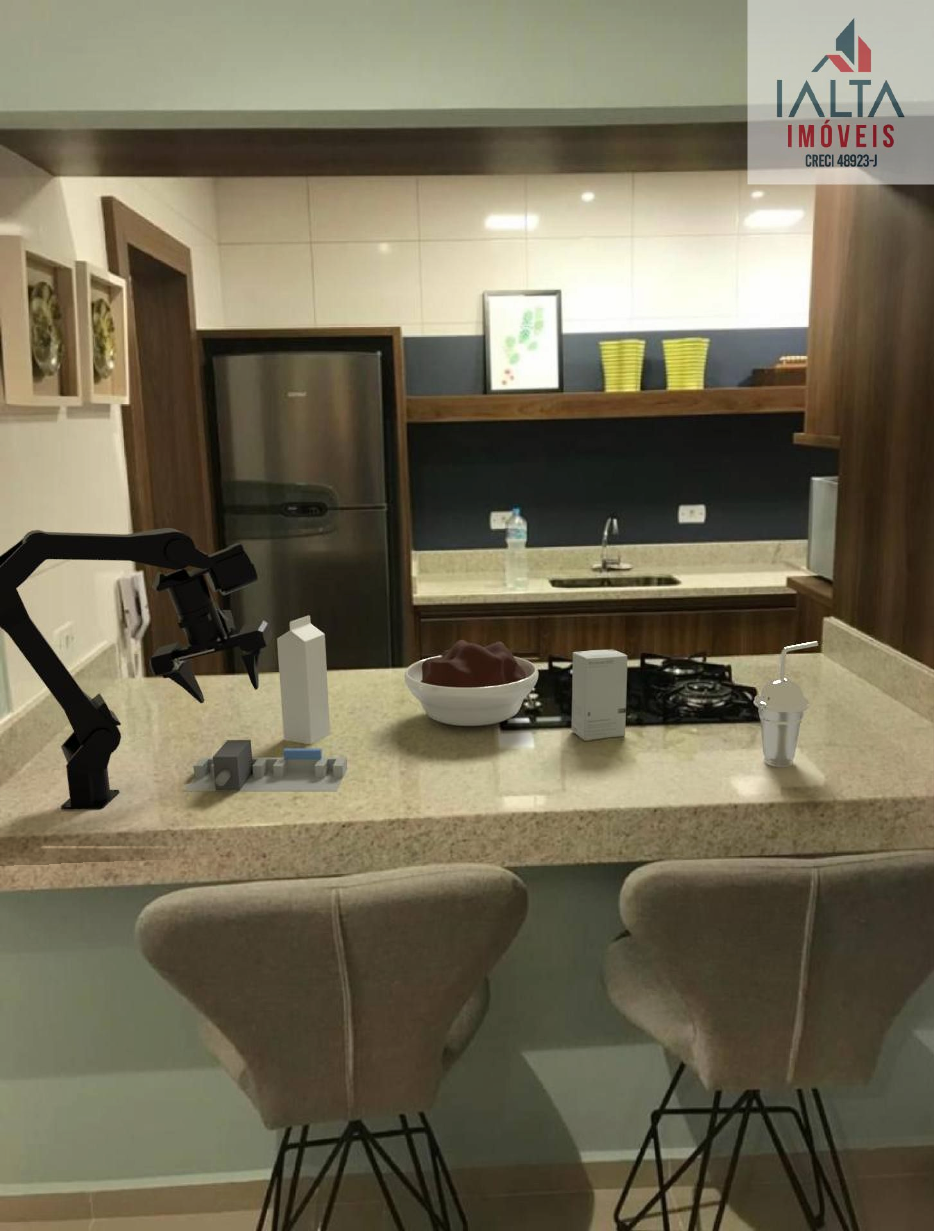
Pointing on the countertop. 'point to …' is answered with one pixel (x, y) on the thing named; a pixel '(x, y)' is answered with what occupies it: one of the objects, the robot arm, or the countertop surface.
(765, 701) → the cup with straw
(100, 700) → the robot arm
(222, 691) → the countertop surface
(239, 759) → the dark grey knobbed block
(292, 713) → the milk
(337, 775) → the grey toothed rack
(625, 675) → the skincare box
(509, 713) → the white bowl
